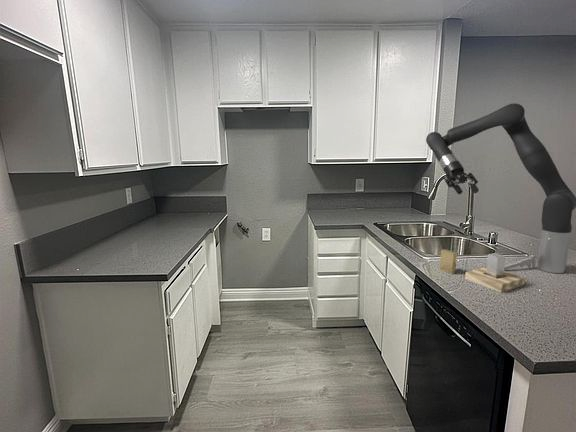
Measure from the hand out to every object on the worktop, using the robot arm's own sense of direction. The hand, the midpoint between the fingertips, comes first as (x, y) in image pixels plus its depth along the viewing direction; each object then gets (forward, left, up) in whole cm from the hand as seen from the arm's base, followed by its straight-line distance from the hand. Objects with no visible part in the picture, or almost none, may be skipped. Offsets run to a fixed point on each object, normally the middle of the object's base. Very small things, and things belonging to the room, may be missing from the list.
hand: (468, 192), depth 135 cm
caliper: (-11, +16, -33) cm, 38 cm away
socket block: (+9, +20, -33) cm, 39 cm away
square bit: (+9, +20, -33) cm, 39 cm away
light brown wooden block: (+15, +4, -33) cm, 36 cm away
